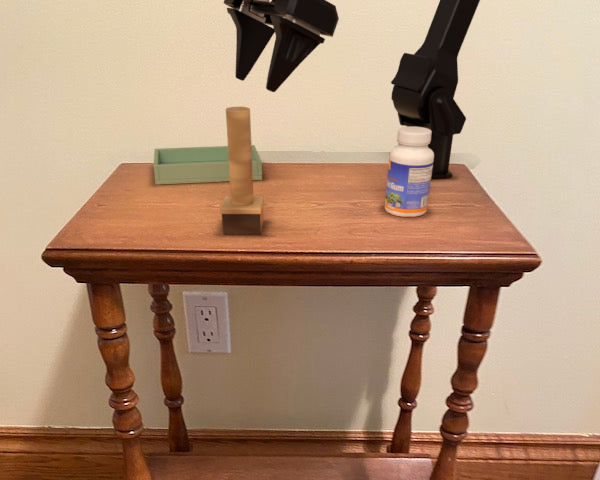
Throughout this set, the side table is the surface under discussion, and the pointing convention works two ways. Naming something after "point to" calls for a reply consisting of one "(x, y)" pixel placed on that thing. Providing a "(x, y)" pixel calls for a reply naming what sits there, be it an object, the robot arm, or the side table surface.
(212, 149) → the tray
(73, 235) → the side table surface
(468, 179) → the side table surface
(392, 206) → the pill bottle
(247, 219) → the scrub brush
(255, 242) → the side table surface
